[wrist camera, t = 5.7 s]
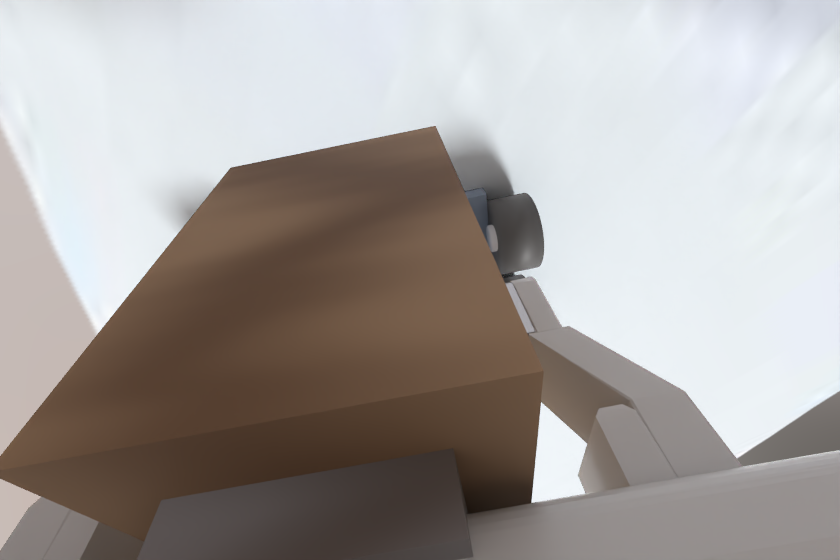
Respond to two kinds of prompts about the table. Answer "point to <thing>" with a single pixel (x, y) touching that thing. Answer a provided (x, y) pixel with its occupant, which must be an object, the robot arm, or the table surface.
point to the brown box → (303, 373)
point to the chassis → (510, 230)
